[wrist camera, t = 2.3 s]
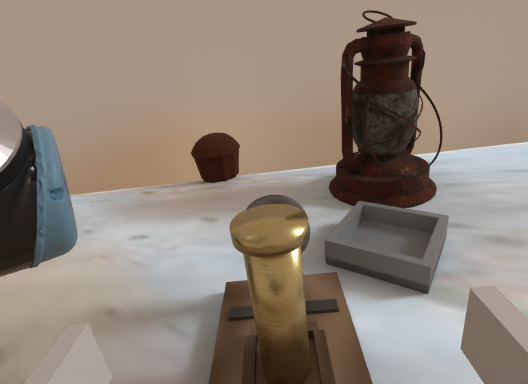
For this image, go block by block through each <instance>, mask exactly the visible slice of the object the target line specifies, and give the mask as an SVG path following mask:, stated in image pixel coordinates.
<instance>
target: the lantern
mask: <svg viewBox="0 0 528 384" xmlns="http://www.w3.org/2000/svg"><path fill="white" fill-rule="evenodd" d="M368 12H372V13H379V14H382V15H385V16H387V17H389V18H383V19H381V20H379V21H373V20H371V19H369V18H367V17H366V16H365V15H364V14H365V13H368ZM362 15H363V17H364V18H365V19H366V20H368V21H371V22H373V23H372V24H370V25H367V26H365V27H363V28H360V29H358V30H357V32H367V37H362V38H360V39H355V40H354V41H352V42H350V43H348V45H347V46H346V48H345V50H344V52H343V54H342V66H341V109H342V154H343V159H342V160H340V161H339V162H338V163H337V165H336V177H334V179H333V180H332V181H331V182H330V185H329V189H330V192H331V194H332V195H333V196H334V197H335V198H337V199H338V200H340V201H342V202H345V203H347V204H349V205H353V206H355V205H356V204H357V203H358V201H363V202H369V203H375V204H381V205H387V206H393V207H399V208H409V207H414V206H417V205H420V204H423V203H425V202H427V201H429V200H431V199H432V198H433V197H434V196H435V193H436V189H437V188H436V185H435V183H434V182H433V181H432V180H431V179H430V178H429V169H430V165H431V164H432V163H433V162H434V161H435V160H436V158H437V156H438V154H439V152H440V149H441V145H442V126H441V121H440V117H439V114H438V112H437V109H436V107H435V105H434V104H433V102H432V100H431V99H430V97H429V96H428V95H427V93H426V92H425V91H424V90H423V89H422V87H421V86H420V85H421V75H422V70H423V67H424V60H425V52H424V50H423V44H422V42H421V39H420V37H419V36H416V35H414V34H410V31H408V32H405V26H410V25H415V24H416V22H414V21H407V20H401V19H394V18H392V17H391V16H389V15H388V14H385V13H382V12H379V11H365V12H363V14H362ZM410 47H411V49H412V56H407V54H408V51H409V49H410ZM359 52H361V55H362V58H363V60H362V61H359V62H356V63H354V64H355V65H358V66H361V81H360V82H359V81H357V80H356V79H355V78H354V77H353V58H354V56H355V54H356V53H359ZM411 60H412V65H411V77H410V78H409V77H408V73H409V61H411ZM353 80H354V81H355V82H356V83H357V85H356V86H355V88H354V90H353V84H352V83H353ZM420 90H421V91H422V92H423V93H424V94H425V96H426V97H427V98H428V100H429V101H430V103H431V104H432V106H433V108H434V110H435V112H436V115H437V118H438V122H439V126H440V145H439V149H438V152H437V154H436V156H435V158H434V159H433V161H432V162H431V163H430V164H428V162H426V161H425V160H424V159H422V158H420V157H417V156H414V155H410V153H411V152H412V149H413V147H414V142H415V140H417V139H418V138H419V137H418V138H416V130H417V131H418V132H420V134H421V131H420V130H419V129H418V128H417V119H418V118H419V116H420V114H421V112H422V108H423V100H422V98H421V96H420ZM419 96H420V98H421V100H422V107H421V110H420V113H419V115H418V105H419ZM420 134H419V136H420ZM415 138H416V139H415ZM353 139H354V142H355V143H356V145H357V147H358V151H359V152H356V153H353ZM358 153H360V154H358Z"/></svg>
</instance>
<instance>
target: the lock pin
mask: <svg viewBox="0 0 528 384" xmlns="http://www.w3.org/2000/svg"><path fill="white" fill-rule="evenodd" d="M230 233H231V238H232V243H233V245H234V247H235V248H236V249H237V250H238V251H240V252H242V253H243V255H244V261H245V267H246V273H247V279H248V285H249V291H250V296H251V302H252V308H253V314H254V320H255V326H256V332H257V338H258V344H259V350H260V356H261V362H262V368H263V373H264V376H265V378H266V380H267V381H268V382H269V383H270V384H303V383H304V382H305V381H306V380H307V378H308V376H309V374H310V367H311V366H310V354H309V342H308V329H307V317H306V304H305V292H304V279H303V267H302V254H301V246H302V245H303V244H304V243H305V242H306V240H307V238H308V236H309V228H308V217H307V215H306V213H305V212H304V211H302V210H301V209H299V208H297V207H294V206H291V205H286V204H266V205H260V206H256V207H252V208H249V209H247V210H245V211H243V212H241V213H239V214H238V215H237V216H235V217H234V218H233V220H232V221H231V223H230Z"/></svg>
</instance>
